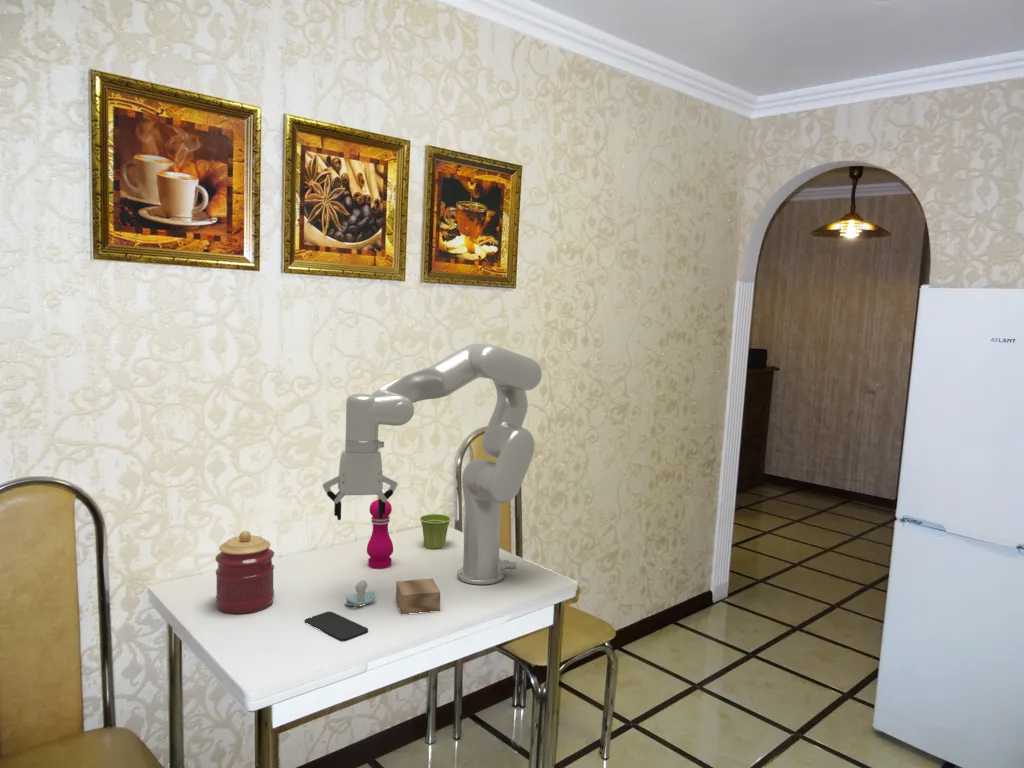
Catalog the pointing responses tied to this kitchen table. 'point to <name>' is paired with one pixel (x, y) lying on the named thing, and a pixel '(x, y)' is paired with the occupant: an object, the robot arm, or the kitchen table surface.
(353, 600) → the pacifier
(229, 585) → the canister
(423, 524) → the plant pot
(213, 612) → the kitchen table surface
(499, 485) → the robot arm
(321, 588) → the kitchen table surface
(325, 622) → the phone
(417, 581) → the block
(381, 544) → the pepper mill
